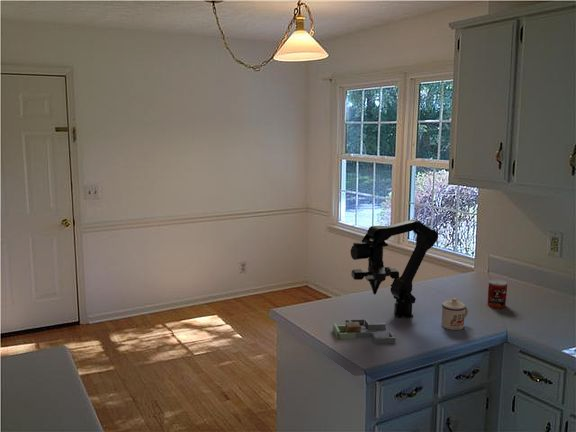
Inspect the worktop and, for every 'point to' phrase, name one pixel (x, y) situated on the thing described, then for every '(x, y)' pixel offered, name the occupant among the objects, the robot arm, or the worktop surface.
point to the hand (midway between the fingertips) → (374, 294)
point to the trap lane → (368, 326)
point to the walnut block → (352, 327)
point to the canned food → (497, 293)
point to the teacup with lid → (453, 314)
